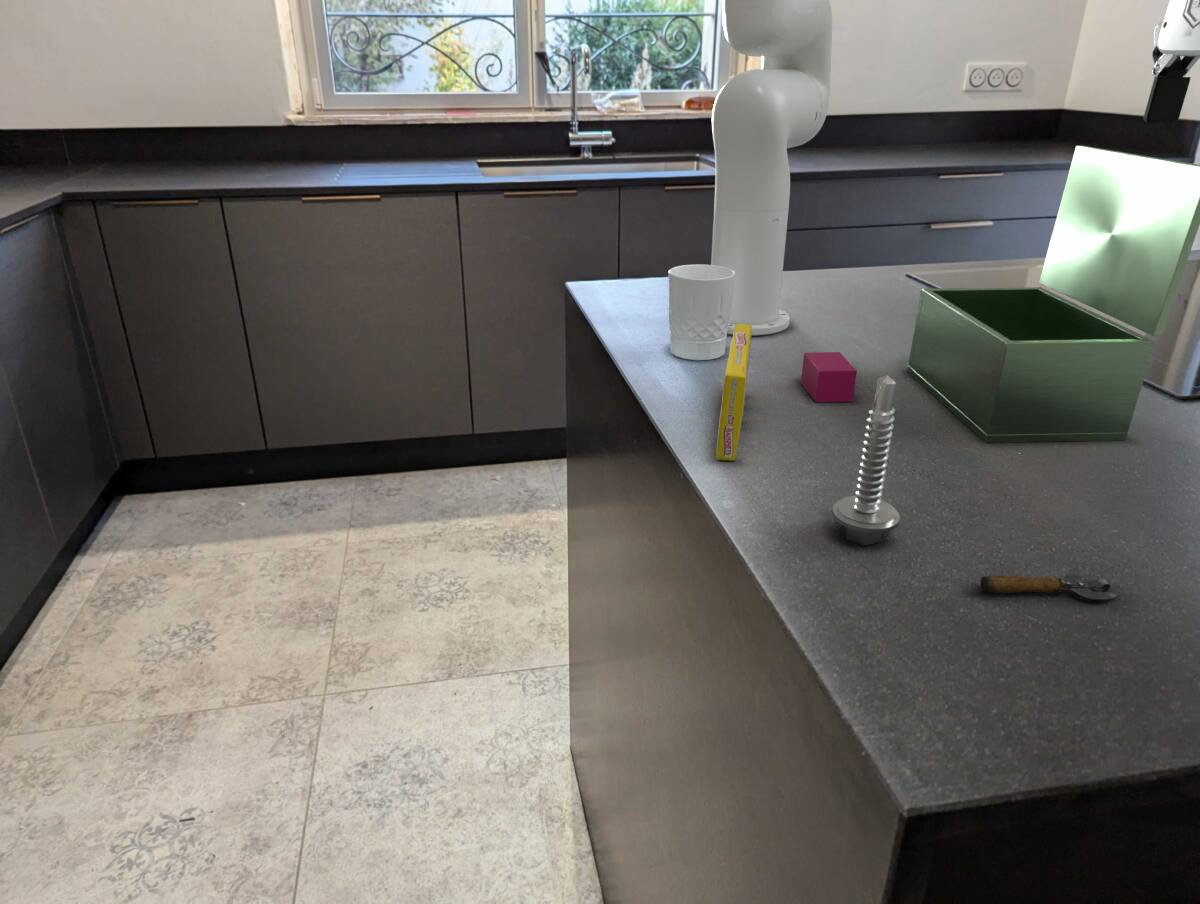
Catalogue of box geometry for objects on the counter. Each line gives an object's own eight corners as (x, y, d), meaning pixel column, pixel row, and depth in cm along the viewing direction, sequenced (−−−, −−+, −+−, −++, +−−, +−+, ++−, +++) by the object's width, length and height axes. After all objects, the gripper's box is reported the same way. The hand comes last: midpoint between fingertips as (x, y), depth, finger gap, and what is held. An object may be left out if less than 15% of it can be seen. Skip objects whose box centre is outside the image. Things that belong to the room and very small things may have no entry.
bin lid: (1210, 167, 68) (1275, 170, 68) (1075, 145, 85) (1127, 147, 85) (1152, 336, 74) (1212, 337, 74) (1038, 282, 91) (1087, 284, 92)
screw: (880, 561, 59) (818, 538, 62) (905, 534, 63) (845, 514, 65) (909, 392, 54) (839, 376, 56) (935, 373, 57) (868, 358, 60)
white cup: (657, 358, 100) (660, 276, 95) (675, 339, 106) (678, 262, 102) (722, 365, 97) (727, 282, 93) (735, 346, 104) (741, 267, 100)
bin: (985, 442, 78) (1007, 343, 73) (907, 371, 95) (921, 288, 91) (1125, 440, 78) (1155, 341, 74) (1021, 370, 96) (1041, 287, 92)
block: (815, 402, 87) (819, 371, 85) (800, 382, 92) (803, 352, 91) (852, 401, 87) (857, 370, 86) (835, 381, 92) (839, 351, 91)
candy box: (739, 463, 74) (746, 376, 70) (715, 461, 74) (720, 374, 71) (746, 397, 88) (752, 322, 84) (726, 396, 88) (731, 321, 85)
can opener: (983, 595, 55) (986, 581, 55) (973, 576, 57) (976, 561, 57) (1125, 605, 54) (1130, 591, 54) (1110, 585, 56) (1115, 571, 56)
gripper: (1151, -81, 76) (1099, 118, 83) (1302, -115, 60) (1222, 134, 68) (1229, -80, 76) (1171, 119, 84) (1401, -113, 61) (1310, 135, 68)
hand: (1194, 125), depth 76 cm, fingers open, 9 cm apart
